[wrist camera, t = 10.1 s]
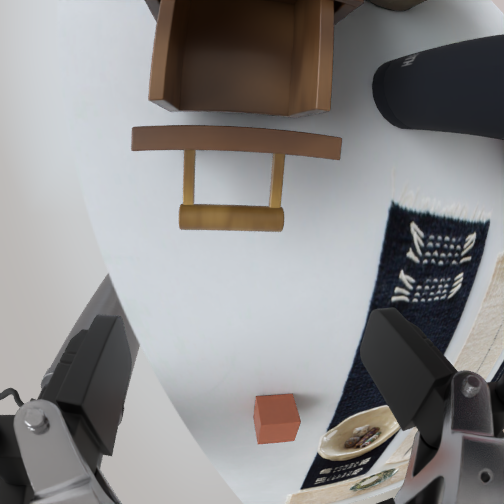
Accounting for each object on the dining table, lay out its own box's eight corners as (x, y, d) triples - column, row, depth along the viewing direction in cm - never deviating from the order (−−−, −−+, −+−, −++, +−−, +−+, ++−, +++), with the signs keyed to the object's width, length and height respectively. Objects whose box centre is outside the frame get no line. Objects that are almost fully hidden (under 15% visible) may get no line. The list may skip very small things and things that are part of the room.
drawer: (295, 213, 22) (328, 247, 16) (158, 209, 21) (134, 243, 14) (310, 6, 16) (345, -35, 9) (174, -4, 15) (159, -53, 8)
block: (253, 416, 33) (257, 444, 29) (255, 395, 31) (261, 425, 27) (287, 414, 33) (294, 441, 29) (292, 393, 32) (301, 421, 28)
